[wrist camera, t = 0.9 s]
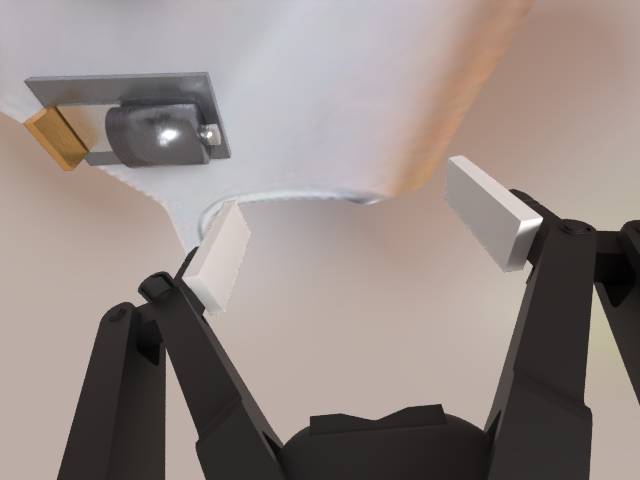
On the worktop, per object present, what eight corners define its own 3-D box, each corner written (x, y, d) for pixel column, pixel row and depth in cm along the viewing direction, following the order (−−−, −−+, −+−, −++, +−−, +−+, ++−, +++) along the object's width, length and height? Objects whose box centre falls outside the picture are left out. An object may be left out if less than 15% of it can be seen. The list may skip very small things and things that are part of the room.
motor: (30, 77, 30) (-23, 107, 24) (210, 72, 31) (196, 99, 26) (93, 160, 38) (64, 197, 33) (232, 153, 40) (226, 186, 34)
